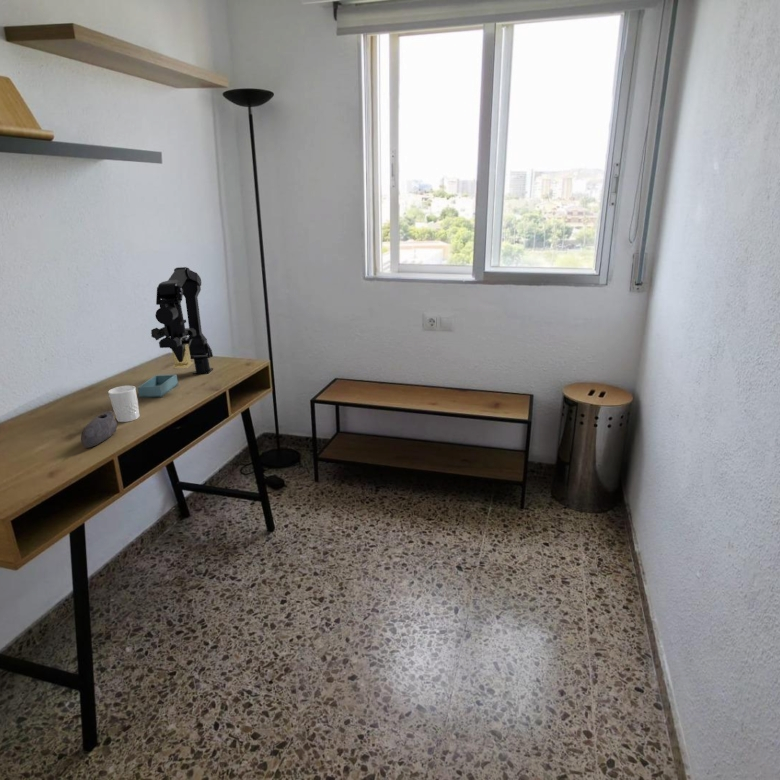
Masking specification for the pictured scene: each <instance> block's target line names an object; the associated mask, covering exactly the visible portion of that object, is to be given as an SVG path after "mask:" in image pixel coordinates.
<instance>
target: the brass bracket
mask: <svg viewBox="0 0 780 780" xmlns="http://www.w3.org/2000/svg"><path fill="white" fill-rule="evenodd" d="M171 352H172V358H173V363H174V364H173V365H172V368H173V369H188V368H189V367H191V366H192V365H193V364H194V360H192V359H191V357H190V351H189V346H188V344H185V346H184V354H183V360H182V362H179V361H178V359H177V357H176V356H175V354H174V352H173V350H172V349H171Z"/></svg>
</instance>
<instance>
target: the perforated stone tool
mask: <svg viewBox="0 0 780 780" xmlns="http://www.w3.org/2000/svg"><path fill="white" fill-rule="evenodd" d="M114 416H115V413H114V411H110V410H107V411H104V412H103V413H101V414H99V415H98V416H97V415H96V417H94V418H93V419H92V420H91V421H89V423H88V424H87V425H85V427H84V429H83V430H82V432H81V435H80V441H81V444H82V446H83V447H84V448H92V447H95V446H97V445H99V444H100V443H101V444H102V442H105V441H106V440H108V439H109V438H111V436H112V435H114V433H116V432H117V427H118V423H117V420H116V419H115V417H114Z"/></svg>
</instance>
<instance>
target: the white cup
mask: <svg viewBox="0 0 780 780" xmlns="http://www.w3.org/2000/svg"><path fill="white" fill-rule="evenodd" d="M107 393H108V396H109V399H110V404H111V406H112V409H113V414H114V416H115V418H116V419H115V420H116V422H119V423H128V422H132V421H135V420H137V419H139V418H140V410H139V408H140V407H139V399H138V395H137V394H138V393H137V388H136V386H134V385H121V386H116V387H113V388H111V389H109V390H108V392H107Z"/></svg>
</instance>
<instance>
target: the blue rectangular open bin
mask: <svg viewBox="0 0 780 780" xmlns="http://www.w3.org/2000/svg"><path fill="white" fill-rule="evenodd" d="M178 381H179V380H178V376H177V374H160V375H158V374H155V375H153V376H152V377H151V378H149V379H147V380H146V381H145V382H143V383H142V384H140V385H139V386H137V392H138V396H139V398H140V399H143V398H147V399H148V398H163V397H164V396H165V395H166V394H168V393H169V392H170V391H172V390H173V389H174V388H176V387H177V386H178V385H179V382H178Z"/></svg>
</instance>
